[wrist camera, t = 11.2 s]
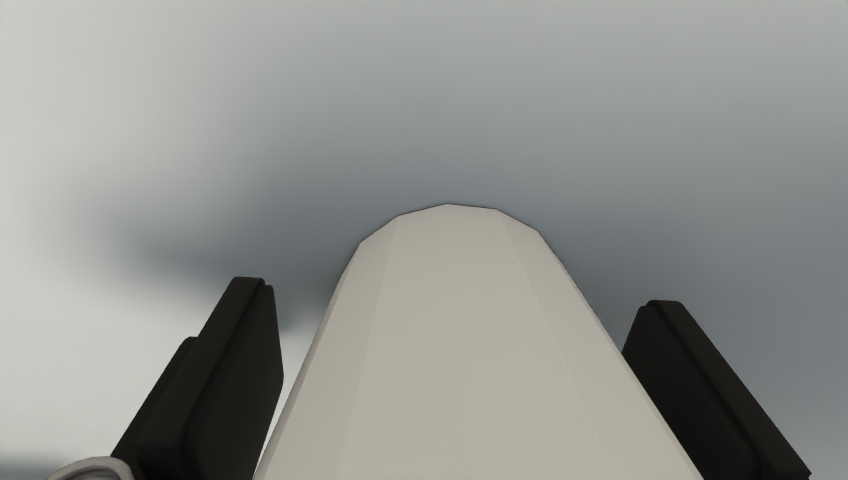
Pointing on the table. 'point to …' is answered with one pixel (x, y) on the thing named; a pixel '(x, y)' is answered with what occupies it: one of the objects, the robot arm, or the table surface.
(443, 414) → the white cup
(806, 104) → the table surface
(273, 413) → the robot arm
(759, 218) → the table surface
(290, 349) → the table surface
